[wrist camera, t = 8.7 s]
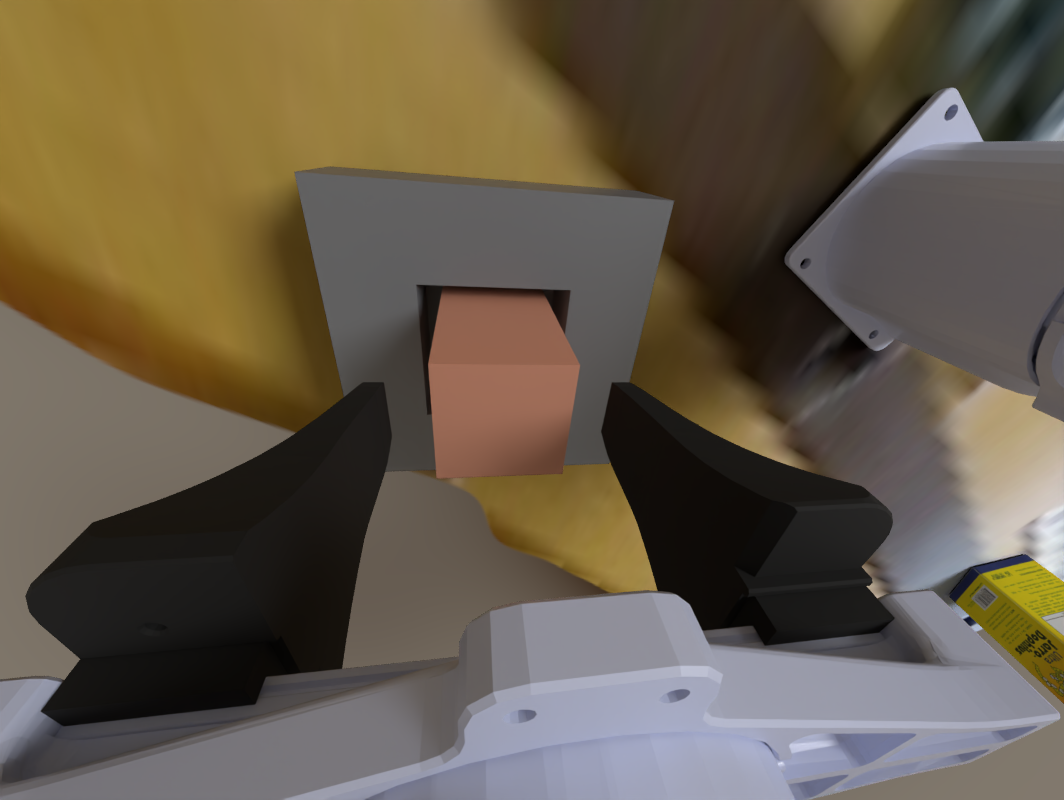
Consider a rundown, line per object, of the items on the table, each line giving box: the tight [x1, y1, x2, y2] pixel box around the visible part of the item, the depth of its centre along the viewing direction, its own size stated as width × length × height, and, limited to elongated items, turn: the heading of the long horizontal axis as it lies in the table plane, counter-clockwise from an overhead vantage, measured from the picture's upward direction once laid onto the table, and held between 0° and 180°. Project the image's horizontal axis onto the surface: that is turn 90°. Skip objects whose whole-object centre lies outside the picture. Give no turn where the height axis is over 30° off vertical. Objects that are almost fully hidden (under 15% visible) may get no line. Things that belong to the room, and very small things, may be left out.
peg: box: [428, 286, 580, 478], centre depth 15 cm, size 4×4×8 cm
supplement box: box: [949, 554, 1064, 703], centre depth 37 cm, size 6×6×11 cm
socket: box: [295, 167, 674, 472], centre depth 17 cm, size 12×12×4 cm
